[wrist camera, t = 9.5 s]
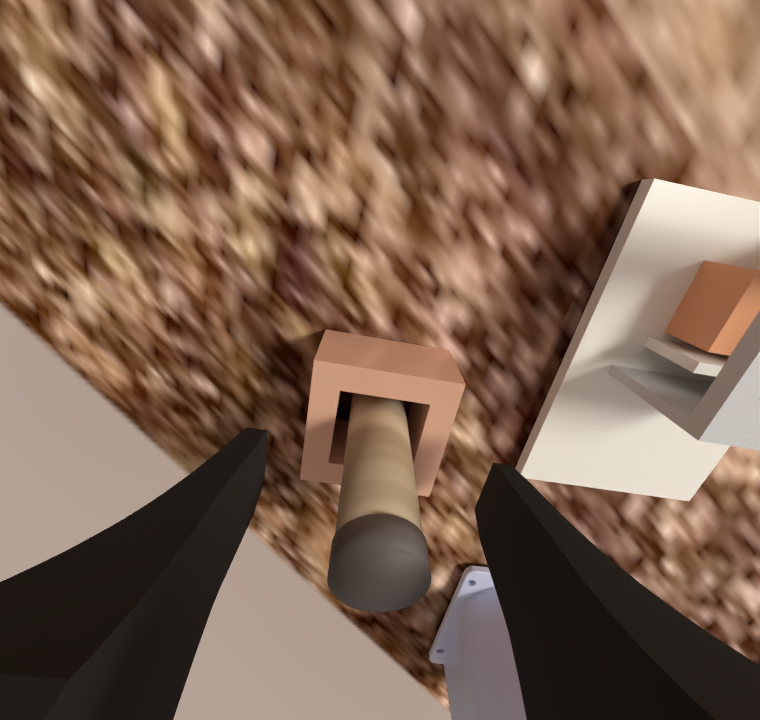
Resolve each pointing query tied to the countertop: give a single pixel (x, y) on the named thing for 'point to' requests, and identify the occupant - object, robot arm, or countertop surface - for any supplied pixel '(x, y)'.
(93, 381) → the countertop surface
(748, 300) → the button
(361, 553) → the stylus
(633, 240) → the square socket plate
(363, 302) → the countertop surface
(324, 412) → the stylus holder
